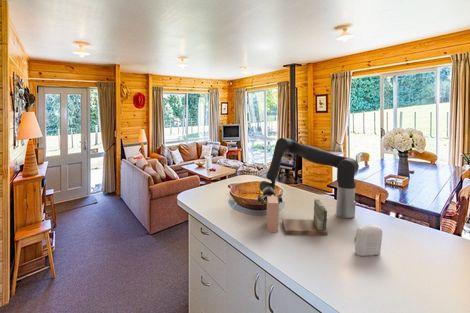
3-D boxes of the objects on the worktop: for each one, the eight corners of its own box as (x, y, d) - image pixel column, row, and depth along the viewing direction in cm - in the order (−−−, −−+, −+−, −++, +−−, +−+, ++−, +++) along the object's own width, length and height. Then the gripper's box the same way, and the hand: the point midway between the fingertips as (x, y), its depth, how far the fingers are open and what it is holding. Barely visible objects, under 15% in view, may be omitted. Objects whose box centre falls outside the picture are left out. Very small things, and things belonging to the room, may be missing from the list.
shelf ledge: (319, 223, 140) (321, 198, 137) (327, 235, 126) (329, 207, 124) (282, 222, 141) (283, 197, 139) (285, 234, 127) (286, 206, 125)
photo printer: (375, 250, 112) (377, 222, 110) (382, 255, 108) (384, 227, 106) (353, 251, 111) (355, 224, 109) (359, 257, 107) (361, 228, 105)
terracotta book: (275, 222, 141) (276, 196, 138) (278, 231, 130) (278, 203, 127) (266, 222, 141) (267, 196, 139) (267, 231, 130) (268, 202, 128)
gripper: (257, 188, 163) (258, 196, 147) (280, 188, 162) (283, 196, 146) (257, 199, 164) (257, 209, 148) (280, 200, 163) (283, 209, 147)
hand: (270, 202), depth 147 cm, fingers open, 8 cm apart
